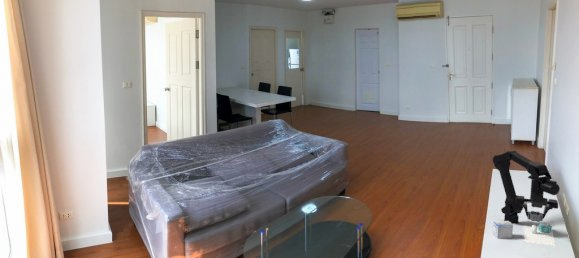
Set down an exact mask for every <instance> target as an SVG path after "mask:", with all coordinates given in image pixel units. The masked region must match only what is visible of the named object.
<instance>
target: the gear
mask: <svg viewBox="0 0 579 258" xmlns="http://www.w3.org/2000/svg"><path fill="white" fill-rule="evenodd" d="M526 218H527V220H530V221H531V222H536V223H541V222H544V221H543V220H544V219H543V212H540V211H537V210H536V211H535V210H531V211H528V217H526Z"/></svg>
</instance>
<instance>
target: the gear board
mask: <svg viewBox="0 0 579 258" xmlns="http://www.w3.org/2000/svg"><path fill="white" fill-rule="evenodd" d="M552 228H553V226H552V225H551V224H548V221H542V222H539V224H538V225H536V224H532V225H531V226H530V225H529V226H528V225H523V234H524V242H526V243H530V244H531V243H532V244H537V245H545V246H551V247H556V244H555V243H556V242H555V239H554V232H553V231H554V230H553V229H552Z"/></svg>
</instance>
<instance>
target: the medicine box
mask: <svg viewBox="0 0 579 258" xmlns="http://www.w3.org/2000/svg"><path fill="white" fill-rule="evenodd" d="M513 227H514V224H512V223H511V222H509V221H504V220H500V221H498V220H497V221H493V230H492V231H493V232H492V235H493V236H494V237H495V238H496V239H509V238H510V239H512V238H513V230H514V229H513Z"/></svg>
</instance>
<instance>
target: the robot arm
mask: <svg viewBox="0 0 579 258" xmlns="http://www.w3.org/2000/svg"><path fill="white" fill-rule="evenodd" d="M511 161H513V162H514V163H516V164H518V165H519V166H521V167H523V168H524V169H526V171H527V173H529V176H528V177H527V178H528V179H530V180H531V181H530V182H531V183H530V196H529V198H525V195H517V192H516V190H515V186H514V183H513V179H512V175H511V172H510V167H511ZM492 162H493V166H494V168H496V170H497V171H499V175H500V179H501V182H502V187H503V189H504V190H503V191H504V192H505V200H504V205H505V206H503V207H501V209H500V210H501V213H502V214H503V215H504V219H503V221H509V222H511V223H512V224H513V225H514V224H515V225H516V224H519V215H518V214H521V213H522V211H523V209H524V212H525V216H526V218H528V212H529V211H528V204H530V205H531V207H532V208H538V209H542V208H543V212H542V213H543V220H544V219H545V217H546V215H547V213H548V212H549V211H550V210H553V209H558V208H559V202H558V200H557V199H554V198H549V199H548V198H545V197H544V193H545V194H549V195H552V196H556V195H558V194H559V192H560V185H559V184H558V182H557V180H556V181H555V180H553V177H552V175H551V173H550V171H549V170H548V167H547V165H546V164H544V163H540V162H538V161H532V160H530V159H529V158H527V157H526V156H524V155H522V154H520V153H518V152H517V151H516V150H507V151H506V152H504V153H501V154H496V155H493V157H492Z"/></svg>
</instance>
